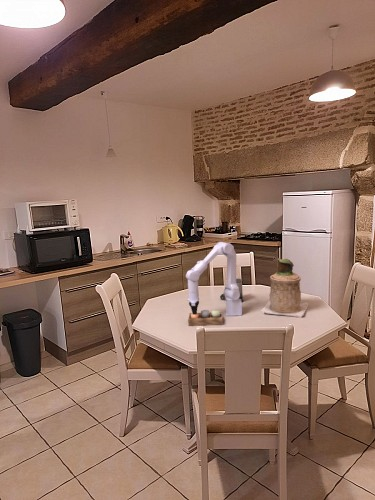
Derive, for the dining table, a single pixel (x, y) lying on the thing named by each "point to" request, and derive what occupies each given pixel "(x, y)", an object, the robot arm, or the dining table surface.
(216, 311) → the key sage
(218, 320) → the brown wooden flat frame
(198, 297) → the robot arm
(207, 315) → the key slate
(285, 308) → the cookie jar
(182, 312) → the dining table surface
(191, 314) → the peach rounded block
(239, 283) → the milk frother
